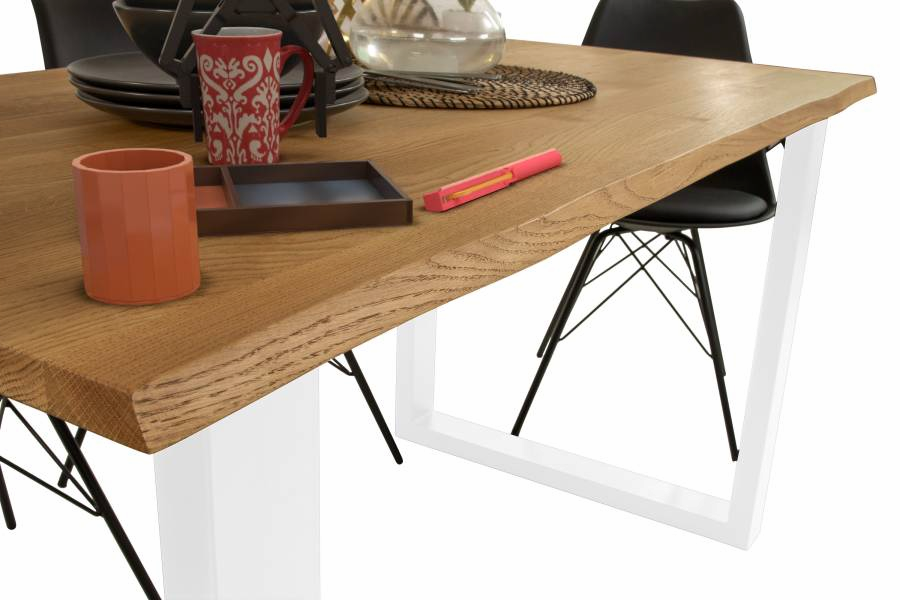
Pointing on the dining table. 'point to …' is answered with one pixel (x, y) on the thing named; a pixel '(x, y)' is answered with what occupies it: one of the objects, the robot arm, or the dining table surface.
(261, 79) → the mug
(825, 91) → the dining table surface
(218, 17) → the robot arm
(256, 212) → the tray
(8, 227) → the dining table surface
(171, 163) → the terracotta cup
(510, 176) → the pink highlighter pen
